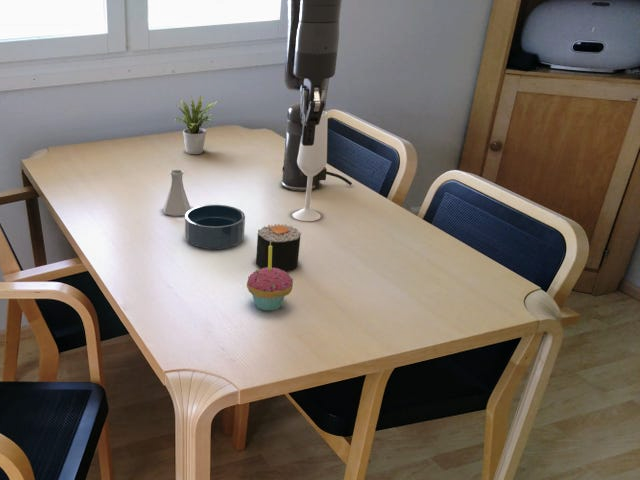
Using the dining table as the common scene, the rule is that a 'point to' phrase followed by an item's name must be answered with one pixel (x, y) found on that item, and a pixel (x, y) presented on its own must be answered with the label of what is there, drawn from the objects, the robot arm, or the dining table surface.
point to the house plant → (194, 126)
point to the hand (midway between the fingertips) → (307, 144)
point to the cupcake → (269, 285)
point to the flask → (176, 196)
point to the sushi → (278, 247)
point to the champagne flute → (312, 165)
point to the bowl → (214, 226)
